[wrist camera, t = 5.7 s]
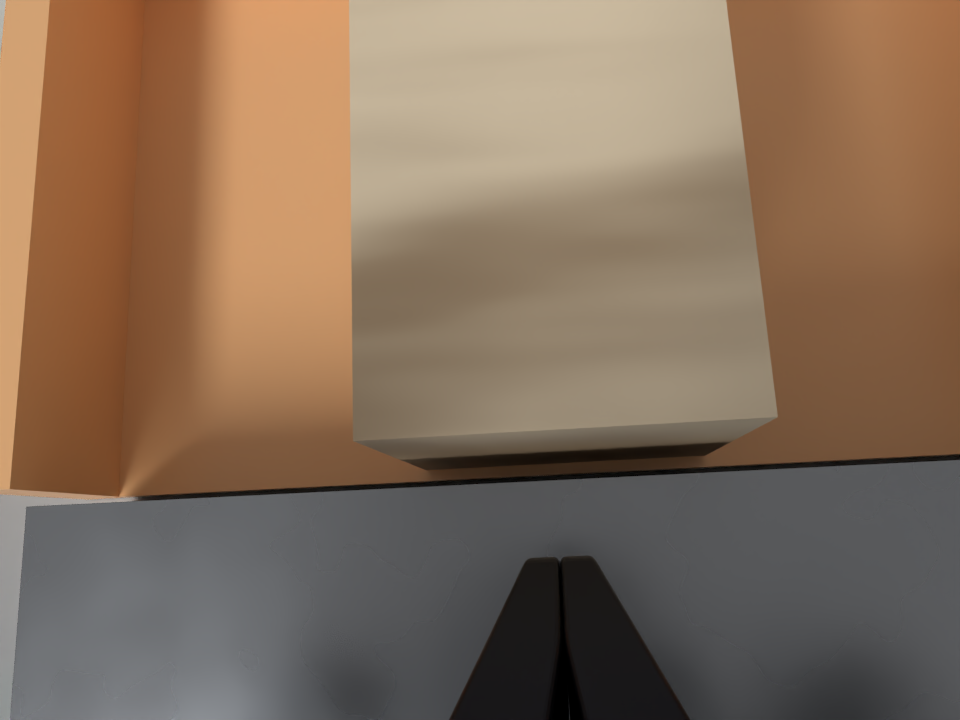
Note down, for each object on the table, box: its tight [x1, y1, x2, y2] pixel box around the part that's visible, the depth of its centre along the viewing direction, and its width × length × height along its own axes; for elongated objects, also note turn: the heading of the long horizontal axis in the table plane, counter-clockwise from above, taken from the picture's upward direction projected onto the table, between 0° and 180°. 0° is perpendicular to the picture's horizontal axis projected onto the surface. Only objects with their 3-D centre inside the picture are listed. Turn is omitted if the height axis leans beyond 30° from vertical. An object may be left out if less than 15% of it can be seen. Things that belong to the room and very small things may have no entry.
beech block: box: [349, 0, 778, 470], centre depth 15 cm, size 6×6×8 cm
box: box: [0, 0, 960, 499], centre depth 17 cm, size 15×22×4 cm
